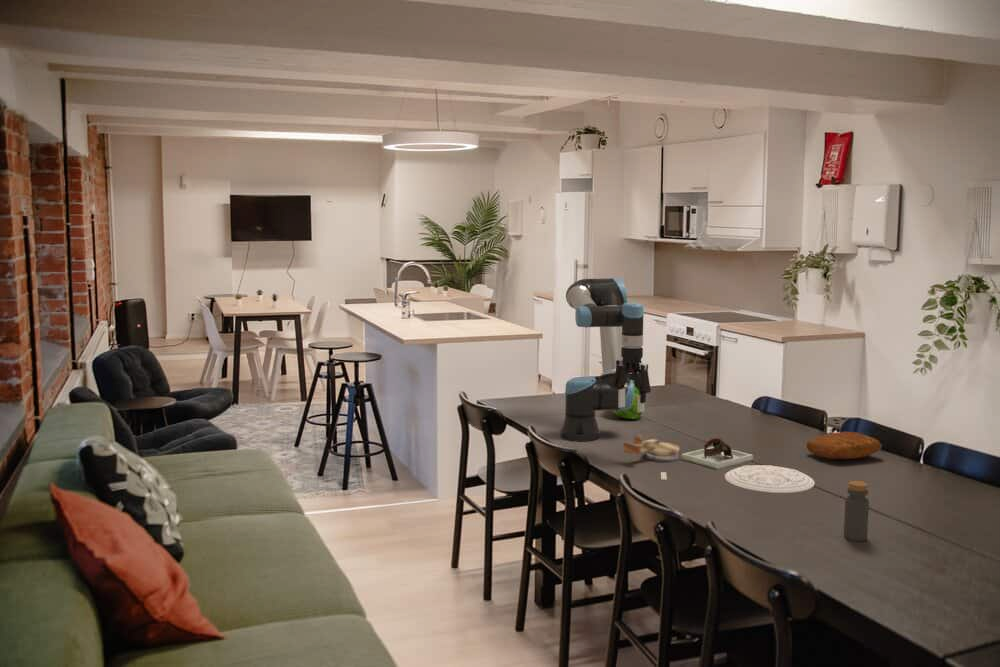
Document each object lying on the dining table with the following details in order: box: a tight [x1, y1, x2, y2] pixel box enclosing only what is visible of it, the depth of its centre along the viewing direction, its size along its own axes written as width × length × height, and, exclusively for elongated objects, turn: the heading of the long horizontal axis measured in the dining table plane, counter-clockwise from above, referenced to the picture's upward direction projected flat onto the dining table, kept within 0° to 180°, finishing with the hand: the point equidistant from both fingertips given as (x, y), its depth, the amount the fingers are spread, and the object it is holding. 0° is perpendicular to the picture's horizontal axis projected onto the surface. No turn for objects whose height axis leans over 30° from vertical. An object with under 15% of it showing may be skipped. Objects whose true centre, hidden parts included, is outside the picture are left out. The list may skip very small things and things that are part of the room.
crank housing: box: [646, 451, 679, 462], centre depth 318 cm, size 11×11×2 cm
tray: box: [681, 446, 754, 470], centre depth 314 cm, size 16×19×2 cm
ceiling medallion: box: [724, 464, 815, 494], centre depth 291 cm, size 28×28×3 cm
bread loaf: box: [806, 431, 883, 460], centre depth 316 cm, size 22×17×8 cm
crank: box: [622, 434, 681, 456], centre depth 315 cm, size 22×12×7 cm, turn 126°
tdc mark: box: [660, 471, 668, 481], centre depth 295 cm, size 8×2×1 cm, turn 171°
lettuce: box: [611, 386, 647, 420], centre depth 383 cm, size 15×22×15 cm
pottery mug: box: [703, 437, 733, 459], centre depth 315 cm, size 12×10×8 cm
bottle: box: [843, 480, 870, 542], centre depth 237 cm, size 6×6×15 cm
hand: (631, 409), depth 316 cm, fingers open, 9 cm apart
